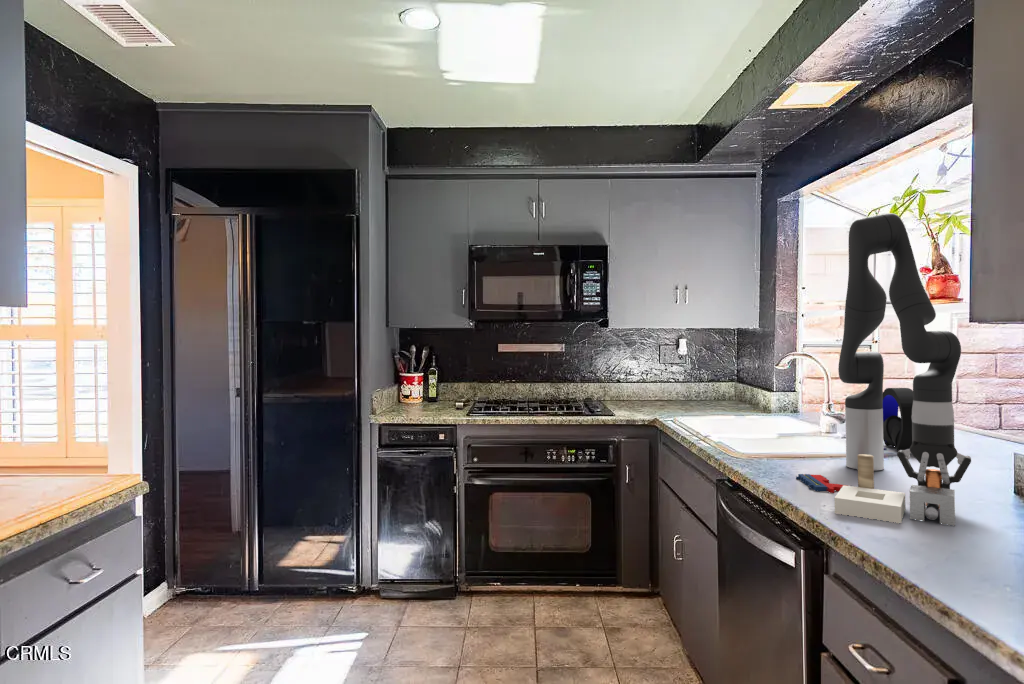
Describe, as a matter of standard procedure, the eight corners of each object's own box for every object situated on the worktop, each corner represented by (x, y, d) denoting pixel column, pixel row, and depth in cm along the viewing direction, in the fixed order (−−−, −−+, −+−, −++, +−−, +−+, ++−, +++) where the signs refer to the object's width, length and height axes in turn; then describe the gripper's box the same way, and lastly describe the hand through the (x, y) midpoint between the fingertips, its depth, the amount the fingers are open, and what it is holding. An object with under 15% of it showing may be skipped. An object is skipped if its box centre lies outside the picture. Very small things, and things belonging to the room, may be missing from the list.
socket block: (843, 500, 134) (843, 485, 134) (905, 508, 127) (905, 492, 127) (834, 513, 125) (834, 497, 125) (901, 523, 117) (900, 506, 117)
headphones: (925, 455, 177) (924, 391, 176) (901, 455, 178) (900, 391, 178) (898, 443, 195) (898, 385, 194) (877, 443, 196) (876, 385, 196)
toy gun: (834, 480, 154) (794, 479, 155) (834, 474, 154) (794, 473, 155) (857, 495, 139) (813, 494, 141) (857, 489, 139) (813, 487, 141)
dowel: (859, 494, 138) (858, 453, 138) (874, 497, 136) (874, 455, 136) (857, 498, 135) (856, 456, 135) (873, 500, 133) (872, 457, 133)
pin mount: (954, 518, 120) (954, 489, 120) (954, 526, 115) (954, 496, 115) (911, 512, 124) (911, 484, 124) (910, 519, 120) (909, 491, 120)
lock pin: (942, 505, 127) (942, 470, 127) (940, 525, 115) (940, 485, 115) (926, 503, 129) (925, 468, 129) (922, 522, 117) (921, 483, 117)
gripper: (973, 421, 125) (974, 499, 125) (896, 416, 134) (897, 490, 134) (973, 426, 119) (974, 508, 119) (893, 421, 128) (894, 497, 128)
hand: (933, 498), depth 127 cm, fingers closed on lock pin, 3 cm apart
